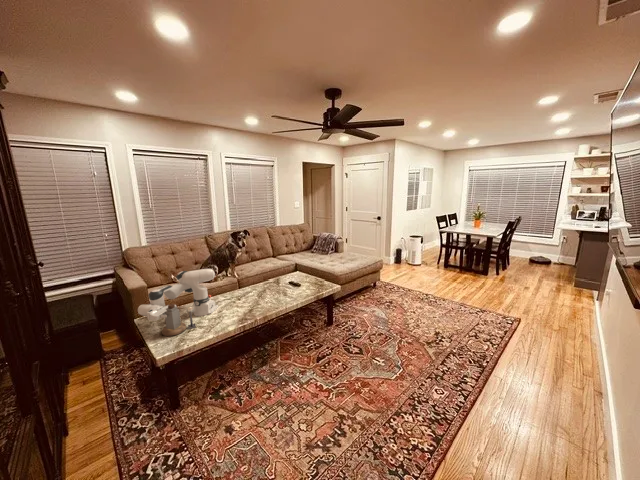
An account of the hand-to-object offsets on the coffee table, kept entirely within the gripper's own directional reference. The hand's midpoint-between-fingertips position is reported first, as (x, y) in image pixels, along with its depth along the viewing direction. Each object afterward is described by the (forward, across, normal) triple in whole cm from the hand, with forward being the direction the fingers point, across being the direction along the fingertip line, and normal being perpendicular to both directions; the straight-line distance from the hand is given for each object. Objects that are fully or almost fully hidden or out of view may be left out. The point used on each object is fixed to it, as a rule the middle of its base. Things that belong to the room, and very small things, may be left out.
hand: (172, 313), depth 196 cm
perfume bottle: (0, 0, -12) cm, 12 cm away
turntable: (0, 0, -15) cm, 15 cm away
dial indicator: (+9, -8, -15) cm, 19 cm away
